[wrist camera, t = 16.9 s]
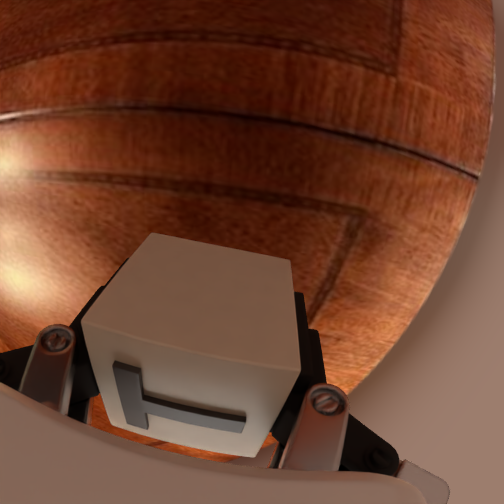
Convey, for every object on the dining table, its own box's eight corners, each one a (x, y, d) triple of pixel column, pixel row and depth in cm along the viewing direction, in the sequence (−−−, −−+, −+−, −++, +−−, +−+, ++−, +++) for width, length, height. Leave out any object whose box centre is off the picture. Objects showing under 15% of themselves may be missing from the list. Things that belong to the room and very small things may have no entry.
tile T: (151, 231, 10) (75, 325, 6) (290, 259, 10) (302, 377, 6) (150, 333, 12) (108, 429, 8) (260, 356, 13) (254, 463, 8)
